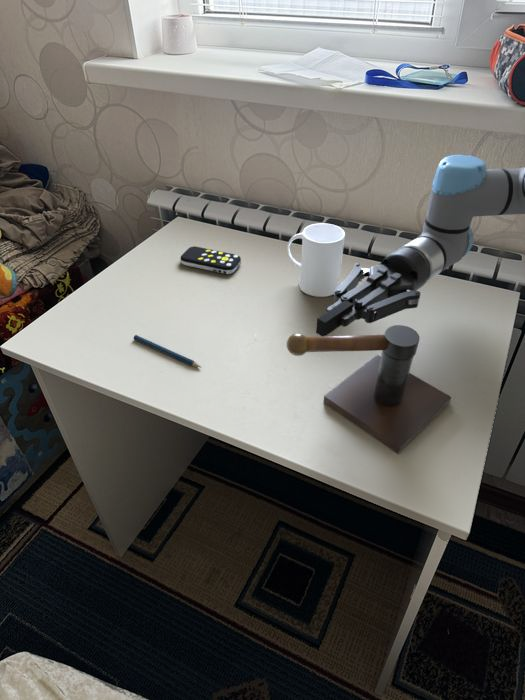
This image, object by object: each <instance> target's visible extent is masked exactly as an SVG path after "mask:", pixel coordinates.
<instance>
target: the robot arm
mask: <svg viewBox="0 0 525 700" xmlns="http://www.w3.org/2000/svg"><path fill="white" fill-rule="evenodd" d="M509 215H525V167H515V168H491V169H487V164H486V162H485V161H484V160H483V159H481V158H479V157H477V156H473V155H464V154H452V155H448V156H446V157H444V158H443V159H441V160H440V162H439V163H438V165H437V169H436V171H435V175H434V177H433V182H432V185H431V191H430V195H429V202H428V206H427V212H426V216H425V219H424V223H423V227H422V232H421V234H420V235H419V236H417V237H416V238H414V239H412V240H411V241H409V242H408V243H406V244H404V245H403V246H401V247H399V248H398V249H397V250H395V251H393V252H392V253H390V254H388V255H386V256H385V258H383V259H382V260H381V262H380V263H379V264H376V265H372V266H370V267H369V268H367V267H362V264H361V263H359V262H356V263H353V267H352V268H353V269H352V270H351V272H350V273H349V274H348V275H347V276H346V277H345V278H344V279H343V280H342V282H340V285H339V286H338V287H337V288H336V289H335V293H334V294H333V303H332V304H331V305H329V306H328V307H327V308H326V312H324V313H322V315H320V316H318V317H317V318H316V325H315V326H316V328H315V334H317V335H318V336H329V335H330V334H331V333H332V332H334V331H335V330H337V329H339V328H340V327H343V328H344V327H348V326H349V325H351V324H352V323H354V322H355V321H356V320H357V321H358V320H361V319H362V320H364V322H365V323H367V324H373V323H375V322H377V321H380V320H382V319H385V318H387V317H390V316H393V315H395V314H397V313H399V312H401V311H404V310H408V309H416V308H418V306H419V301H420V300H421V299H420V298H421V292H420V291H419V289H421V288H422V287H424V285H426V284H428V283H430V281H432V280H434V278H436V277H437V276H438V275H440V274H441V273H442V272H444V271H445V270H446V269H448V268H450V267H451V266H453V265H455V264H457V263H459V262H460V261H461V260H462V259H463V257H465V256H466V255H467V254H468V253H469V252H470V251H471V249H472V248H473V245H474V240H475V239H474V235H473V229H472V228H471V224H472V221H473V218H474V217H490V216H509ZM365 278H366V280H365V281H363V280H364V279H365ZM359 283H360V284H359Z"/></svg>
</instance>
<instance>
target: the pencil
mask: <svg viewBox="0 0 525 700" xmlns="http://www.w3.org/2000/svg"><path fill="white" fill-rule="evenodd" d="M133 340H134V341H136V342H138V343H141V344H143V345H145V346H147V347H149V348H151V349H153V350H156V351H158V352H160V353H163V354H165V355H167V356H169V357H171V358H173V359H176V360H178V361H180V362H182V363H184V364H187V365H188V366H191V367H194V368H200V369H201V368H202V366H201V365H200V364H198V363H197V362H196V361H195V360H193V359H191V358H188V357H186V356H185V355H182V354H180V353H178V352H175V351H173V350H170V349H168V348H166V347H164V346H162V345H160V344H158V343H155V342H152V341H150V340H148V339H146V338H144V337H142V336H140V335H138V334H135V335H133Z"/></svg>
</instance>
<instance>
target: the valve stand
mask: <svg viewBox="0 0 525 700" xmlns="http://www.w3.org/2000/svg"><path fill="white" fill-rule="evenodd" d="M414 356H415V355H414ZM414 356H413V357H412V358H410V359H405V360H400V359H395V358H392V357H390V356H388V355H387V354H386V353H385V352H384V351H383V350H381V355H379V354H376V355H375V356H374V357H372V358H371V359H369V361H367V362H366V363H364V365H362V366H361V367H359V368H358V369H357V370H356V371H354V372H353V373H352V374H351V375H349V376H348V377H346V378H345V379H344V380H343V381H341V382H340V383H339V384H338V385H336V386H335V387H333V388H332V389H331V390H330V391H328V392H327V393H326V394H325V395H323V403H324V404H325V405H326V406H328V407H329V408H331V409H332V410H333V411H335V412H336V413H338V414H339V415H341V416H342V417H344V418H345V419H347V420H348V421H349V422H351V423H352V424H354V425H356V426H357V427H358V428H359V429H361V430H363V431H364V432H366V433H367V434H368V435H370V436H371V437H372V438H374V439H376V440H377V441H379V443H381V444H383V445H385V446H386V447H387V448H388V449H390V450H391V451H393V452H395V453H396V454H397V455H398V454H400V453H401V452H402V451H403V450H404V449H405V448H406V447H407V446H408V445H409V444H411V442H412V441H413V440H414V439H415V438H416V437H417V436H418V435H419V434H420V433H421V432H422V431H423V430H424V429H425V428H426V427H428V425H429V424H430V423H431V422H432V421H433V420H435V419H436V418H437V416H439V414H440V413H442V412H443V411H444V410H445V409H446V408H447V407H448V406H449V405H450V403H451V400H452V396H450V395H449V394H447V393H446V392H444V391H442V390H440V389H438V388H436V387H435V386H433V385H431V384H430V383H428V382H426V381H424V380H423V379H421V378H419V377H418V376H416V375H414V374H412V373H411V372H410V371H411V368H412V365H413V361H414V360H413V359H414Z"/></svg>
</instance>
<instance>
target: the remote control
mask: <svg viewBox="0 0 525 700" xmlns="http://www.w3.org/2000/svg"><path fill="white" fill-rule="evenodd" d="M179 258H180V263H181V265H184V266H187V267H192V268H195V269H196V268H197V269H201V270H205V271H211V272H215V273H219V274H224V275H231V274H234V272H236V270H237V269H238V268H239V266H241V264H242V258H241V256H240V255H238V254H235V253H231V252H225V251H222V250H221V251H220V250H216V249H210V248H205V247H201V246H195V245H193V246H190V247H188V248H187V249H186V250H185V251H184V252H183V253H182V254H181V256H180V257H179Z"/></svg>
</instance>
